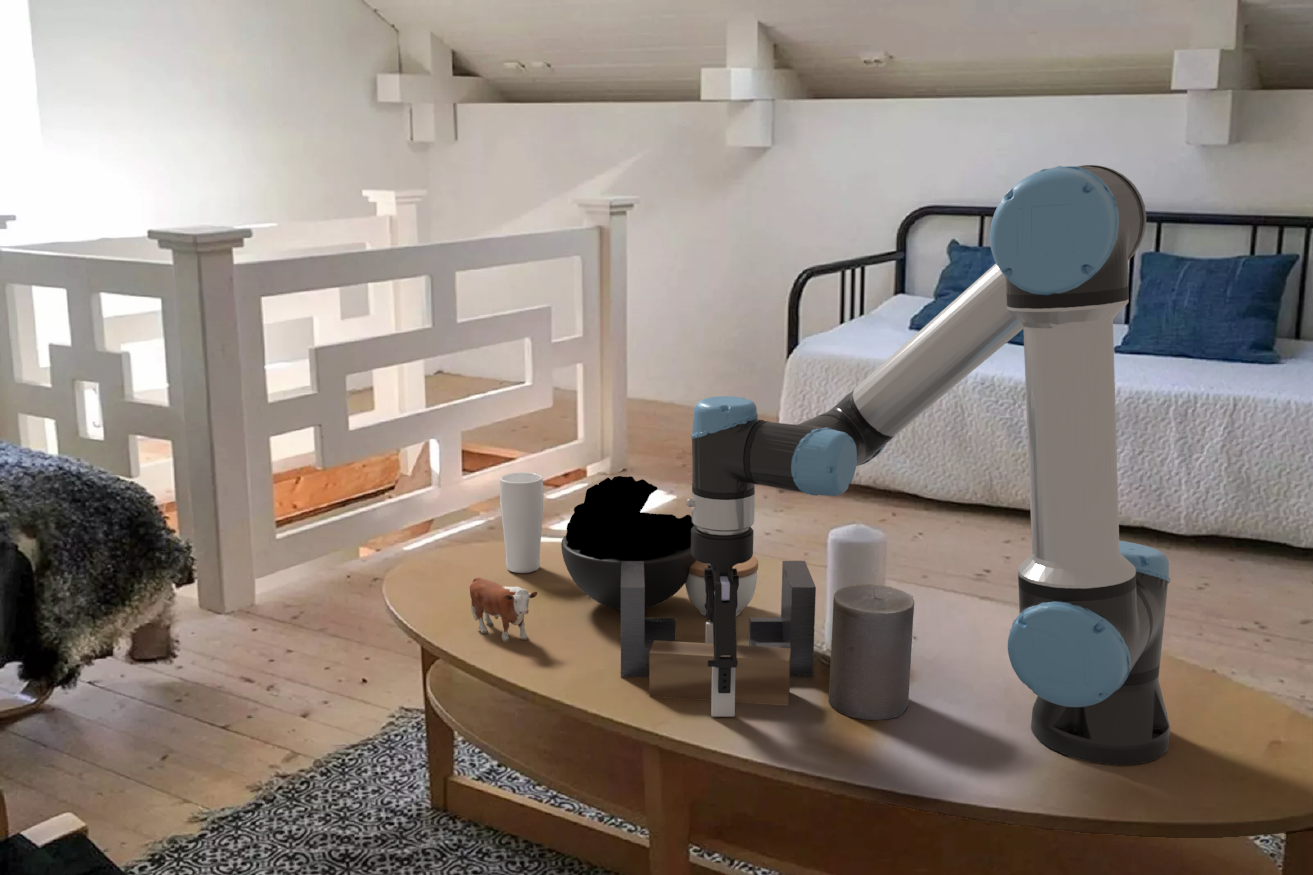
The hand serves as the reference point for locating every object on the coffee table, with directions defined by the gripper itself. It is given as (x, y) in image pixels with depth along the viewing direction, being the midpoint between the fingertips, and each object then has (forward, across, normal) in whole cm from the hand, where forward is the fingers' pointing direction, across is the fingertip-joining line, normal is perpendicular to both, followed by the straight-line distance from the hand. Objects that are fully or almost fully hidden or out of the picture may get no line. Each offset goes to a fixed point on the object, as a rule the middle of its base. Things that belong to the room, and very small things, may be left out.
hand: (719, 692), depth 163 cm
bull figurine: (+1, -20, -28) cm, 34 cm away
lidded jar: (+1, -29, +2) cm, 29 cm away
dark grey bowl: (+1, -31, -11) cm, 33 cm away
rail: (0, 0, 0) cm, 0 cm away
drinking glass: (+1, -48, -28) cm, 56 cm away
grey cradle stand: (0, -10, 0) cm, 11 cm away
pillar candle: (0, +3, +18) cm, 18 cm away
